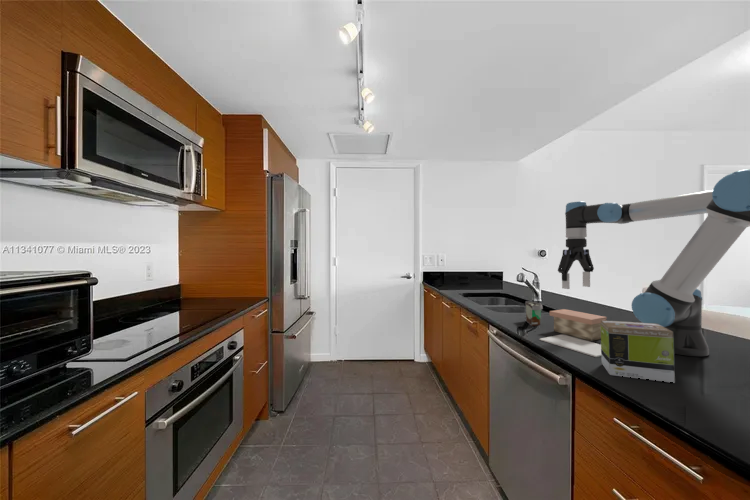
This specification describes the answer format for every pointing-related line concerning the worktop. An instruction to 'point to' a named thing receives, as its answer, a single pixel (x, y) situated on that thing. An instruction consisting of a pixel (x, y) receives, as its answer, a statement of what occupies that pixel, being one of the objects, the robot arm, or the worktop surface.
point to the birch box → (577, 329)
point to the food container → (533, 313)
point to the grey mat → (575, 344)
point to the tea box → (638, 350)
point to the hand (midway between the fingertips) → (576, 287)
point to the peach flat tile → (578, 316)
